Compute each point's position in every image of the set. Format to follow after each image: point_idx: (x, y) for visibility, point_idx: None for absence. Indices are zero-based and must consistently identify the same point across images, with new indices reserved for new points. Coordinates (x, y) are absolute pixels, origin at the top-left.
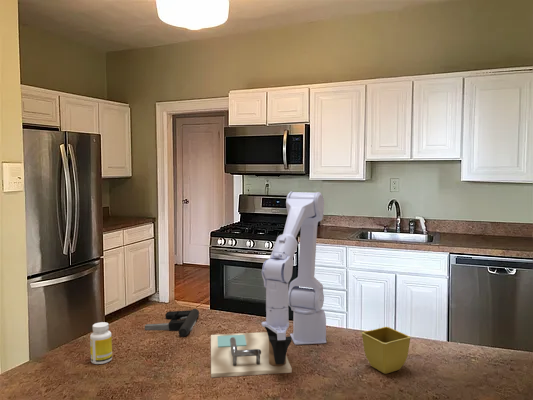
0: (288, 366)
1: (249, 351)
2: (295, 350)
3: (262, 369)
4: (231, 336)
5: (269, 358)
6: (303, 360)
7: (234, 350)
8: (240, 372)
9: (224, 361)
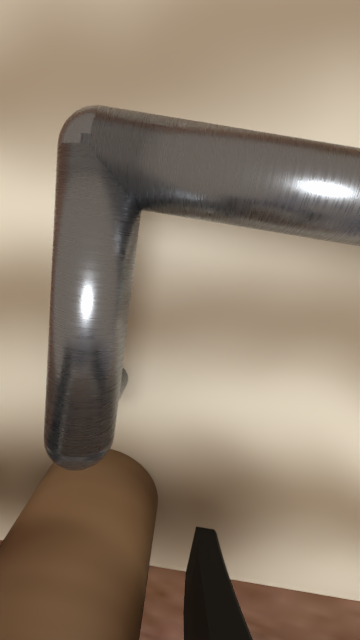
0: None
1: (49, 350)
2: (294, 623)
3: (13, 379)
4: None
5: (74, 477)
6: (149, 612)
7: (89, 142)
8: (1, 208)
9: (239, 99)
